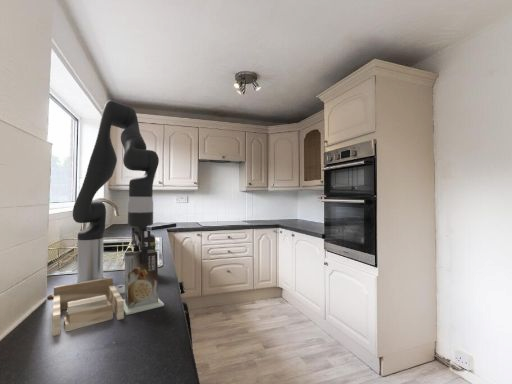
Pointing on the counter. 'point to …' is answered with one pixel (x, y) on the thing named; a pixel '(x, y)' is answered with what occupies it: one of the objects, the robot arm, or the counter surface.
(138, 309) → the sage mat
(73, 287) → the pine rack
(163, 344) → the counter surface
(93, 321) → the offcut stack
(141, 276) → the coffee box
